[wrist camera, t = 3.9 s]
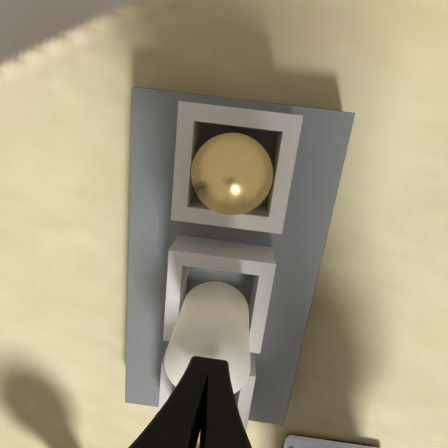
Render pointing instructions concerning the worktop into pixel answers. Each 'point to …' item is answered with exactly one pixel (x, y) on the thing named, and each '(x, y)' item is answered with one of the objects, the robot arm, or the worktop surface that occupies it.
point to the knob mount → (227, 235)
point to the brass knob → (232, 173)
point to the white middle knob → (211, 332)
